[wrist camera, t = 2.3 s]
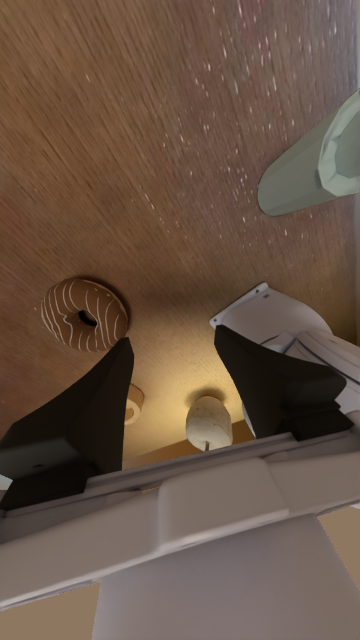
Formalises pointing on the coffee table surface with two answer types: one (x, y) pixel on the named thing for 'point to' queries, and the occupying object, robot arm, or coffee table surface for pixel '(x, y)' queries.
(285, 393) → the robot arm
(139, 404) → the holder
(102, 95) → the coffee table surface
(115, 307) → the donut
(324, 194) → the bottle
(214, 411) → the decorative object
